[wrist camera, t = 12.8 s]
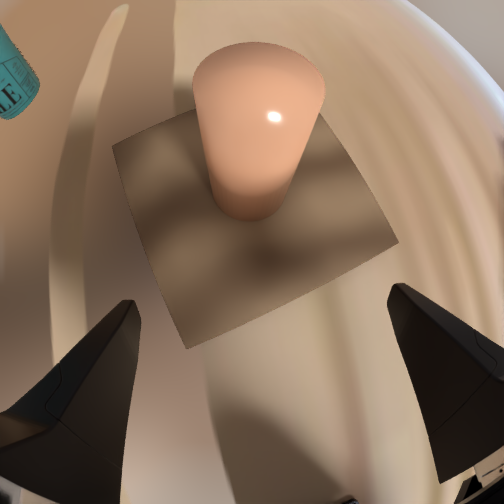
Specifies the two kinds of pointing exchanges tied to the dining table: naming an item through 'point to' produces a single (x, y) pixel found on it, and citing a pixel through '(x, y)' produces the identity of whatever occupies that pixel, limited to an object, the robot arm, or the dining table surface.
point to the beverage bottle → (14, 79)
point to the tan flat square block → (244, 228)
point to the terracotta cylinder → (255, 123)
